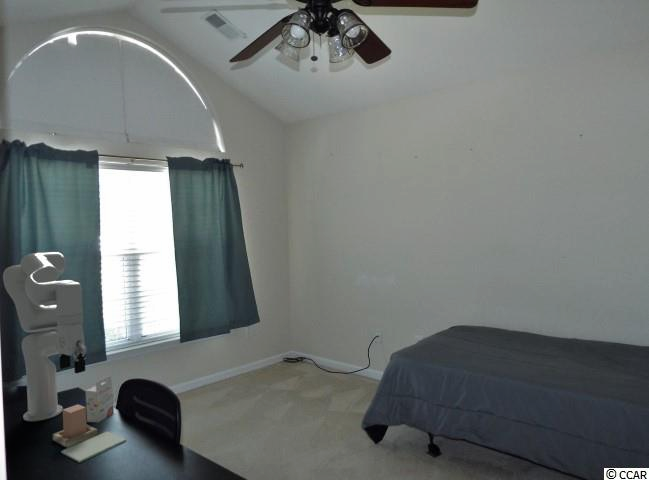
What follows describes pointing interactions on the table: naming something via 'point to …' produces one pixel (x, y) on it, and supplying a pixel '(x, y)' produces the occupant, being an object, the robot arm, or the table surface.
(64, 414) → the terracotta block
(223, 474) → the table surface
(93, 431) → the pocket frame
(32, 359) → the robot arm
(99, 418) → the ink cartridge box
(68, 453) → the sage pad
